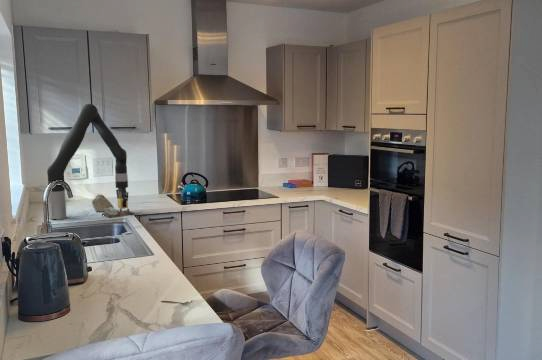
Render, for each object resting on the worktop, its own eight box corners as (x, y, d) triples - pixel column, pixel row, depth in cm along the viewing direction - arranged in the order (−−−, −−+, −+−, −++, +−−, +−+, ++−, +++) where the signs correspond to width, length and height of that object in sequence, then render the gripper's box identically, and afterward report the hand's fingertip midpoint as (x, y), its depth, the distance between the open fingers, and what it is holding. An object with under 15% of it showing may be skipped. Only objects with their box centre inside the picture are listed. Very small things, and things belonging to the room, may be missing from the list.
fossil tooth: (111, 214, 325) (89, 211, 326) (115, 211, 331) (93, 209, 332) (112, 197, 322) (89, 194, 324) (116, 195, 329) (94, 192, 330)
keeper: (110, 215, 309) (110, 210, 308) (104, 212, 316) (104, 208, 316) (117, 214, 311) (117, 209, 311) (111, 211, 319) (111, 207, 319)
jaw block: (120, 208, 315) (120, 199, 314) (118, 207, 319) (117, 198, 318) (127, 207, 318) (127, 198, 317) (124, 206, 322) (124, 197, 321)
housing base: (108, 218, 308) (108, 213, 307) (102, 215, 316) (102, 210, 315) (133, 214, 318) (132, 209, 317) (126, 211, 326) (126, 207, 325)
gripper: (111, 179, 319) (112, 205, 321) (120, 182, 308) (121, 209, 310) (122, 178, 324) (123, 204, 326) (131, 180, 313) (133, 207, 315)
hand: (122, 206), depth 318 cm, fingers closed on jaw block, 4 cm apart
